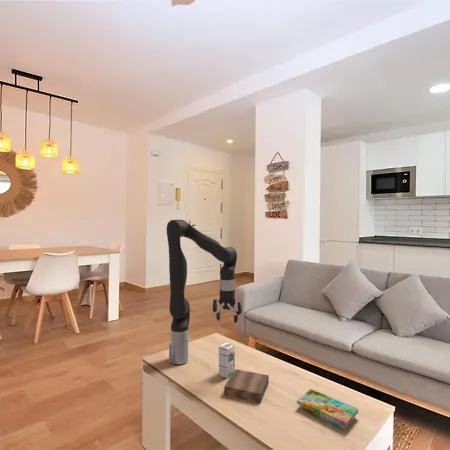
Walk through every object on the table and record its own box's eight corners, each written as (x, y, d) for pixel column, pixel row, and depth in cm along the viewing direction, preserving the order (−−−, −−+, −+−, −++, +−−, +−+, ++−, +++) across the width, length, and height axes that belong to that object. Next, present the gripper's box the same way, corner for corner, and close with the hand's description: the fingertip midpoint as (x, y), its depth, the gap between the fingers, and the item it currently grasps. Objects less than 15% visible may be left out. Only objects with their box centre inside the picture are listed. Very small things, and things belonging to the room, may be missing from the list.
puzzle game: (346, 421, 111) (296, 398, 124) (345, 434, 111) (296, 409, 124) (358, 406, 119) (310, 386, 133) (358, 418, 119) (310, 397, 133)
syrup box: (227, 378, 147) (228, 348, 146) (218, 374, 150) (218, 345, 150) (234, 374, 151) (235, 344, 151) (225, 370, 155) (225, 341, 155)
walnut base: (224, 395, 133) (224, 386, 133) (235, 377, 148) (235, 369, 148) (260, 403, 128) (260, 393, 128) (268, 383, 143) (268, 375, 143)
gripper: (210, 288, 149) (210, 322, 149) (239, 291, 144) (238, 325, 144) (216, 285, 156) (216, 317, 156) (243, 287, 151) (243, 320, 151)
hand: (227, 321), depth 150 cm, fingers open, 8 cm apart
